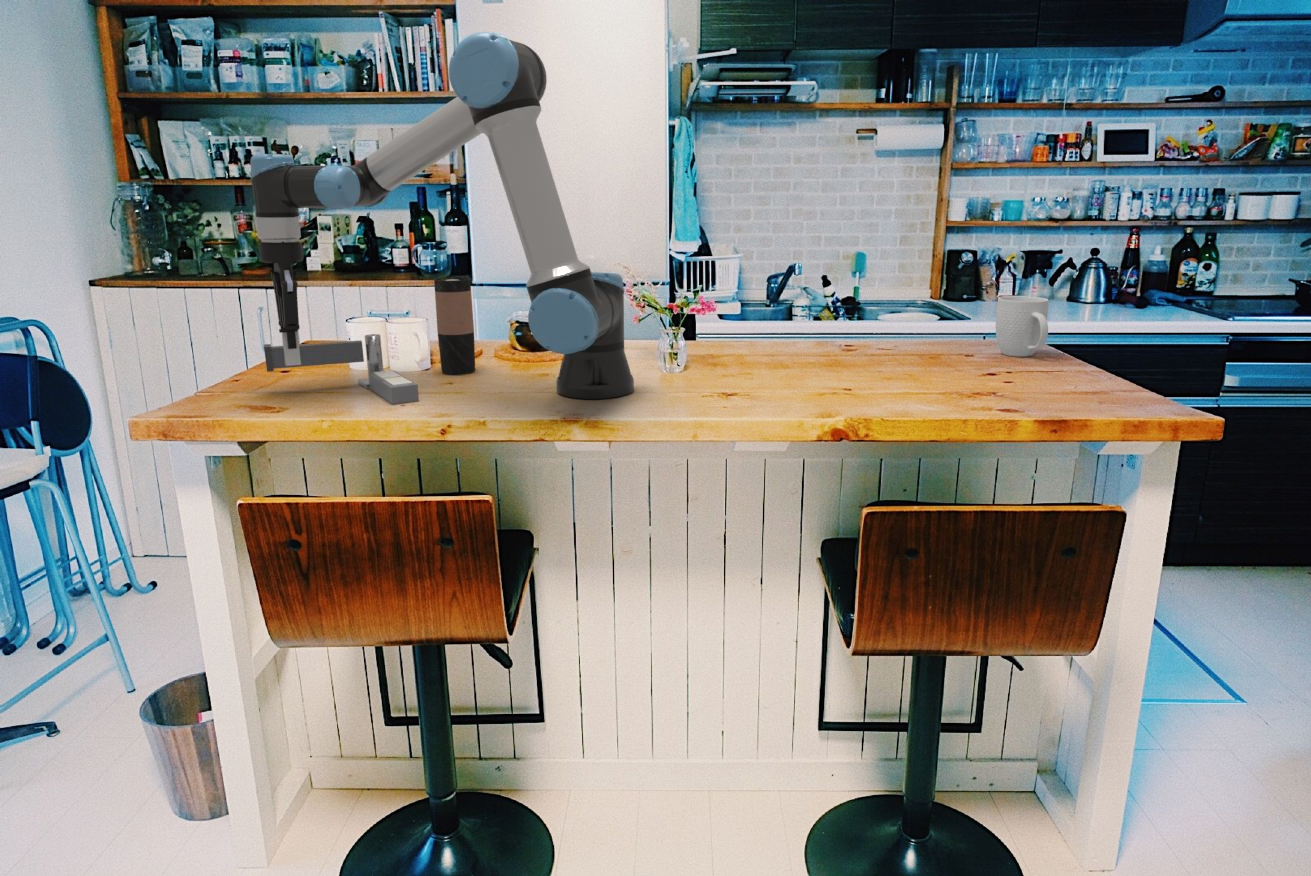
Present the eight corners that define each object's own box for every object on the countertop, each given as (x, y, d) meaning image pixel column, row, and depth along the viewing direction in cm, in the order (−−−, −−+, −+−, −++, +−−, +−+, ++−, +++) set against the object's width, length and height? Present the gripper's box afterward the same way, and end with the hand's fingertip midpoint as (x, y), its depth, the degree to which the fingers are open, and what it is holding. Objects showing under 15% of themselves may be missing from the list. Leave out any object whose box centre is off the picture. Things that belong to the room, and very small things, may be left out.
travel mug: (468, 376, 189) (461, 281, 183) (434, 374, 190) (427, 280, 184) (481, 368, 196) (476, 277, 190) (449, 367, 197) (443, 276, 192)
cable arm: (362, 361, 181) (360, 338, 180) (364, 364, 178) (362, 340, 177) (267, 368, 174) (264, 344, 173) (267, 371, 171) (263, 347, 170)
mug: (1063, 361, 201) (1071, 303, 197) (1020, 363, 198) (1027, 304, 195) (1023, 349, 215) (1029, 294, 211) (982, 351, 212) (988, 296, 209)
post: (358, 383, 182) (353, 334, 180) (387, 379, 186) (383, 332, 183) (366, 388, 178) (361, 339, 175) (396, 384, 181) (391, 336, 178)
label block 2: (380, 396, 171) (378, 378, 170) (405, 392, 174) (404, 375, 173) (392, 404, 165) (390, 386, 164) (418, 401, 167) (417, 382, 166)
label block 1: (370, 389, 177) (368, 372, 176) (395, 386, 180) (393, 369, 179) (381, 397, 171) (380, 379, 170) (407, 393, 173) (405, 376, 172)
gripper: (307, 242, 163) (319, 368, 169) (295, 238, 174) (307, 357, 180) (263, 242, 159) (277, 372, 165) (253, 239, 170) (267, 361, 176)
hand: (293, 364), depth 173 cm, fingers closed
